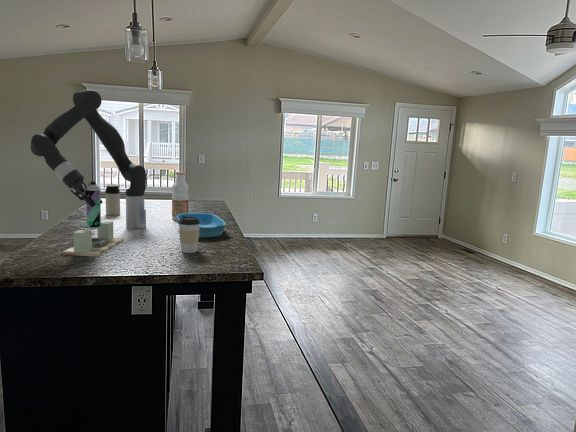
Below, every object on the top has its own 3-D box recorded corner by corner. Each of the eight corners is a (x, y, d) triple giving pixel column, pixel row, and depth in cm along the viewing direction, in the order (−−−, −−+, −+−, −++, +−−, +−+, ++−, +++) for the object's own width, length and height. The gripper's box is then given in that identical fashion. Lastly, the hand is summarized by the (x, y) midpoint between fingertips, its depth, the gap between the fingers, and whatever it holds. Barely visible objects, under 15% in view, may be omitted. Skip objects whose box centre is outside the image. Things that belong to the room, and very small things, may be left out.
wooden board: (93, 239, 197) (93, 237, 197) (123, 241, 197) (123, 238, 197) (62, 254, 172) (62, 251, 171) (96, 256, 171) (96, 253, 171)
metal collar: (90, 241, 188) (90, 237, 188) (109, 243, 188) (109, 238, 188) (80, 246, 180) (79, 242, 180) (100, 247, 180) (100, 243, 179)
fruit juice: (169, 218, 253) (169, 171, 248) (183, 217, 259) (183, 171, 254) (177, 221, 246) (177, 173, 241) (191, 220, 253) (191, 172, 248)
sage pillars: (102, 237, 196) (102, 220, 195) (113, 238, 196) (113, 221, 195) (74, 252, 172) (73, 232, 170) (86, 252, 172) (85, 233, 170)
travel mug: (115, 216, 252) (114, 186, 249) (103, 215, 254) (102, 185, 250) (122, 214, 260) (122, 184, 257) (111, 213, 261) (110, 183, 258)
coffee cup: (203, 249, 189) (204, 216, 187) (192, 254, 181) (193, 220, 178) (185, 247, 192) (186, 214, 190) (174, 251, 184) (174, 217, 181)
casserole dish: (230, 239, 213) (230, 225, 211) (185, 241, 204) (185, 226, 203) (213, 224, 246) (213, 211, 245) (173, 225, 237) (173, 212, 236)
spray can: (86, 226, 184) (85, 180, 180) (100, 226, 186) (99, 180, 183) (86, 229, 179) (85, 182, 175) (101, 228, 181) (100, 182, 178)
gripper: (65, 170, 171) (95, 201, 173) (83, 167, 185) (111, 196, 187) (53, 182, 172) (83, 213, 174) (72, 179, 187) (99, 207, 188)
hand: (97, 204), depth 181 cm, fingers closed on spray can, 5 cm apart
